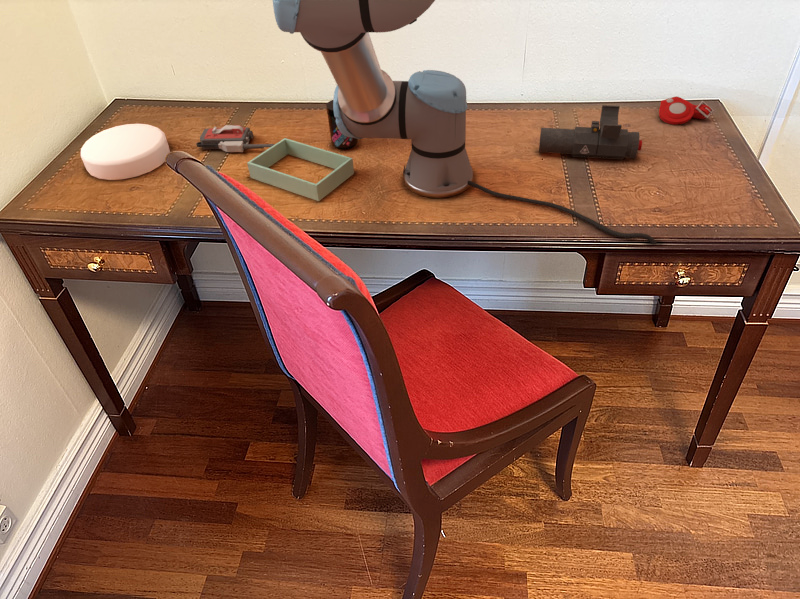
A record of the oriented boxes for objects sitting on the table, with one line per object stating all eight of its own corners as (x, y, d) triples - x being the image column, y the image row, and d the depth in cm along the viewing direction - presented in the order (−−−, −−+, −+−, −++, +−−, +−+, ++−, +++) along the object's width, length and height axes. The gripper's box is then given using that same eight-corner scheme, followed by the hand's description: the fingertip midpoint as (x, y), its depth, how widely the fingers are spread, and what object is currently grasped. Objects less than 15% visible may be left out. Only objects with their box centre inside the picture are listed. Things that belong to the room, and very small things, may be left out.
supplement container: (326, 148, 153) (321, 108, 146) (338, 136, 158) (334, 96, 151) (351, 153, 151) (346, 112, 144) (363, 140, 156) (359, 100, 149)
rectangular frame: (354, 173, 144) (352, 158, 142) (318, 201, 136) (316, 185, 134) (287, 152, 153) (284, 137, 150) (250, 177, 145) (246, 162, 142)
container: (167, 173, 148) (161, 155, 145) (79, 185, 146) (71, 167, 143) (172, 134, 163) (167, 117, 160) (92, 144, 160) (85, 128, 157)
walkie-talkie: (195, 154, 154) (275, 153, 153) (190, 138, 151) (271, 136, 150) (204, 137, 161) (281, 135, 159) (200, 121, 158) (278, 119, 156)
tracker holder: (668, 124, 152) (651, 97, 158) (666, 137, 156) (649, 111, 161) (718, 108, 151) (699, 82, 157) (714, 121, 155) (696, 96, 160)
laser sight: (539, 141, 151) (543, 102, 144) (636, 147, 147) (646, 107, 140) (537, 162, 144) (542, 122, 137) (639, 168, 140) (649, 127, 133)
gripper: (444, -95, 120) (443, 20, 134) (339, -103, 130) (349, 5, 145) (424, -87, 115) (426, 31, 129) (317, -95, 126) (329, 15, 140)
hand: (385, 18), depth 137 cm, fingers open, 13 cm apart
